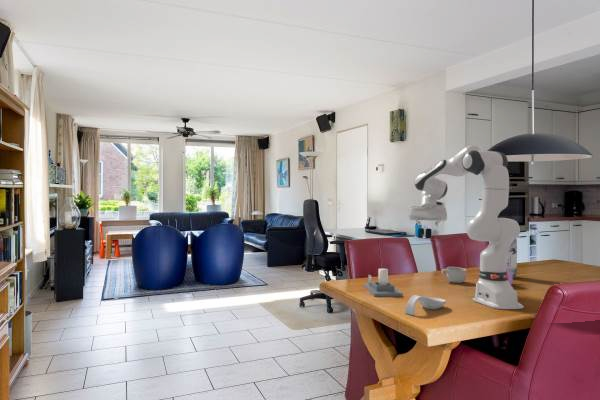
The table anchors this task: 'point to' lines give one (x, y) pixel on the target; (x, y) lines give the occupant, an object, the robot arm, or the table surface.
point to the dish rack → (381, 289)
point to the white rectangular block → (382, 277)
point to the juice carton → (512, 259)
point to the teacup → (455, 274)
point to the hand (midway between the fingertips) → (427, 224)
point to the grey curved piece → (423, 303)
